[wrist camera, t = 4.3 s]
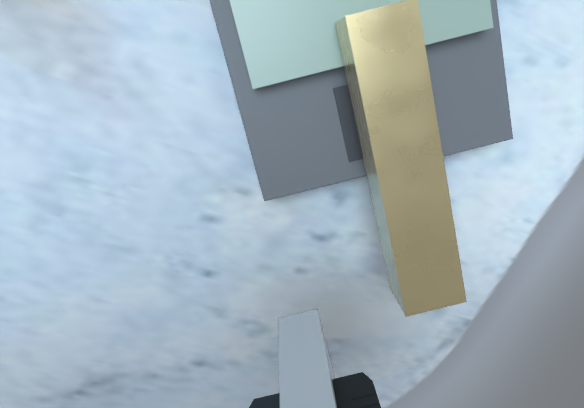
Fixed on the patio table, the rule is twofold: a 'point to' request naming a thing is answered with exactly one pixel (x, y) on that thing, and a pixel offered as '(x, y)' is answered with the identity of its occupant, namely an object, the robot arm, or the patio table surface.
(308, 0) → the cover
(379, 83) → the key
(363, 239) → the patio table surface
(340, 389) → the robot arm
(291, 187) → the plate
